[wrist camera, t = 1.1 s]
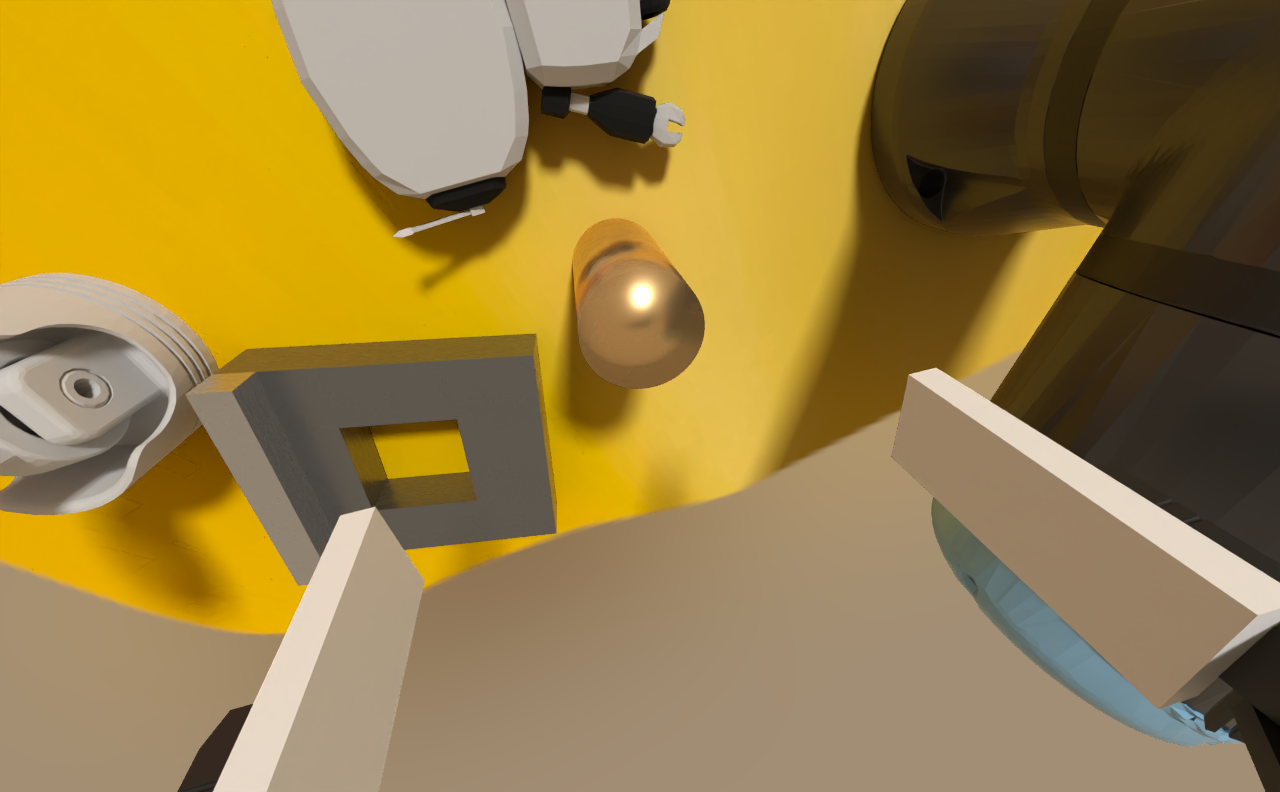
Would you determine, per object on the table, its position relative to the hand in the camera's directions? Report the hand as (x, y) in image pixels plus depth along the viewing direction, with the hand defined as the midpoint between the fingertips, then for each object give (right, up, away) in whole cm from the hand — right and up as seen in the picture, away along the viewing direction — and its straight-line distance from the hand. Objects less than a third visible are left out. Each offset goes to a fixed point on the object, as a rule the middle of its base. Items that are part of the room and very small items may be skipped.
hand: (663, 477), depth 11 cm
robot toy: (-7, +18, +9) cm, 22 cm away
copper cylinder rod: (-2, +10, +15) cm, 18 cm away
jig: (-15, -1, +19) cm, 24 cm away
